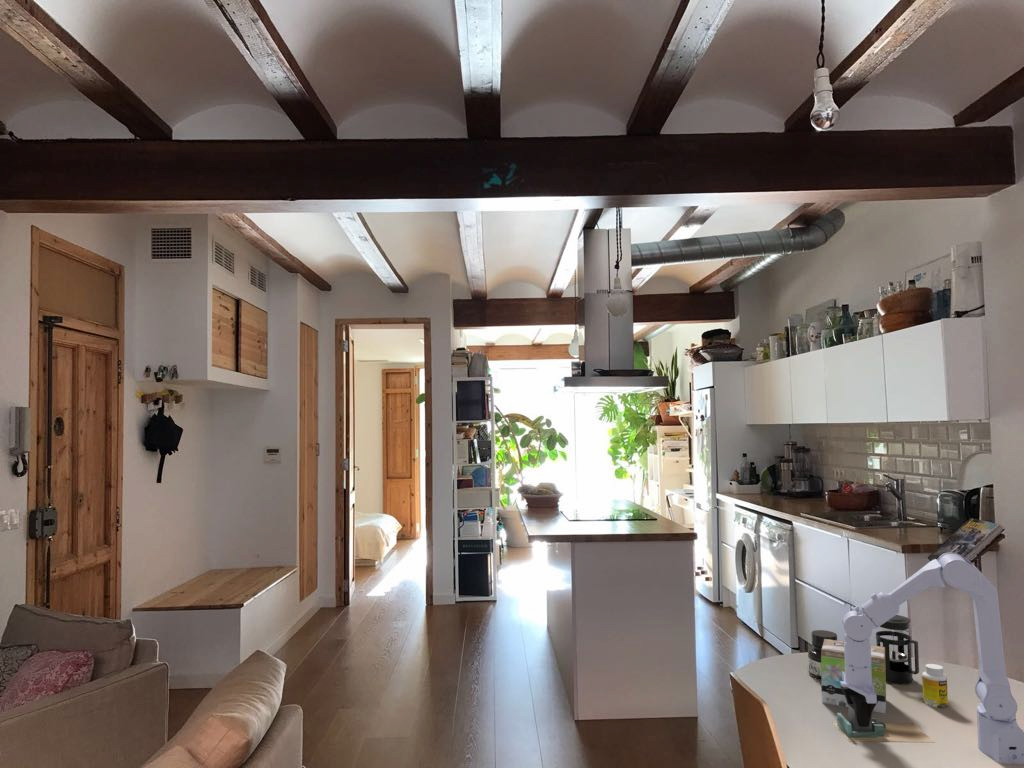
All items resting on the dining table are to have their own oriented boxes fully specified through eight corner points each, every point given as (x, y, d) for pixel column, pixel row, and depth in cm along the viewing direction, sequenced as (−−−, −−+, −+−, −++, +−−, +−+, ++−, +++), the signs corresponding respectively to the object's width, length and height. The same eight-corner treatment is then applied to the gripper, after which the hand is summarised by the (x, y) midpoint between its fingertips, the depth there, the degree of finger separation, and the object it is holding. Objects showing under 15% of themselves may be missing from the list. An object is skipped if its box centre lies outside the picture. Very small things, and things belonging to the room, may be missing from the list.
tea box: (821, 706, 187) (819, 648, 188) (824, 692, 196) (823, 637, 196) (886, 717, 180) (884, 657, 181) (886, 702, 189) (885, 645, 189)
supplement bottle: (941, 712, 182) (940, 671, 182) (918, 705, 187) (917, 665, 187) (952, 707, 185) (951, 667, 185) (929, 700, 190) (928, 660, 190)
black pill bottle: (801, 670, 212) (800, 629, 212) (828, 668, 214) (827, 627, 214) (821, 683, 202) (820, 640, 203) (849, 680, 204) (848, 637, 204)
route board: (934, 745, 165) (934, 728, 165) (849, 744, 166) (848, 727, 166) (912, 726, 175) (912, 710, 175) (832, 725, 176) (831, 709, 176)
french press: (867, 676, 207) (865, 595, 208) (883, 669, 212) (881, 590, 213) (910, 689, 197) (907, 604, 198) (925, 680, 203) (923, 598, 204)
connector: (889, 732, 168) (888, 710, 168) (854, 732, 169) (854, 710, 169) (882, 725, 172) (881, 704, 172) (848, 725, 172) (848, 703, 172)
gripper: (829, 653, 178) (830, 709, 178) (853, 675, 164) (855, 736, 163) (858, 653, 178) (859, 709, 178) (885, 675, 164) (887, 736, 163)
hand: (859, 722), depth 170 cm, fingers closed on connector, 3 cm apart
